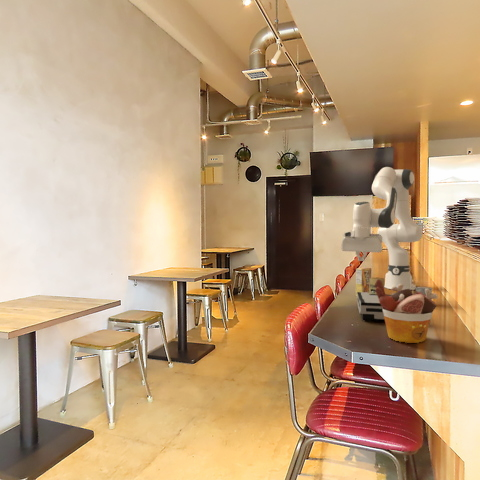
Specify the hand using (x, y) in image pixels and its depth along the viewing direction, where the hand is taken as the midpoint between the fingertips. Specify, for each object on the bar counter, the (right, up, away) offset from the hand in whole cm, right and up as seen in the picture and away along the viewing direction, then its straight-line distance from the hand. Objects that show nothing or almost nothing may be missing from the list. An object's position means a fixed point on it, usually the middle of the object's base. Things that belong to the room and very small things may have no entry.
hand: (361, 260), depth 201 cm
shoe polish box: (+7, -21, -4) cm, 22 cm away
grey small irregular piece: (+27, -21, -10) cm, 36 cm away
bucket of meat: (-6, -23, -67) cm, 71 cm away
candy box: (+5, -20, +12) cm, 24 cm away
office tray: (0, -22, -31) cm, 38 cm away
